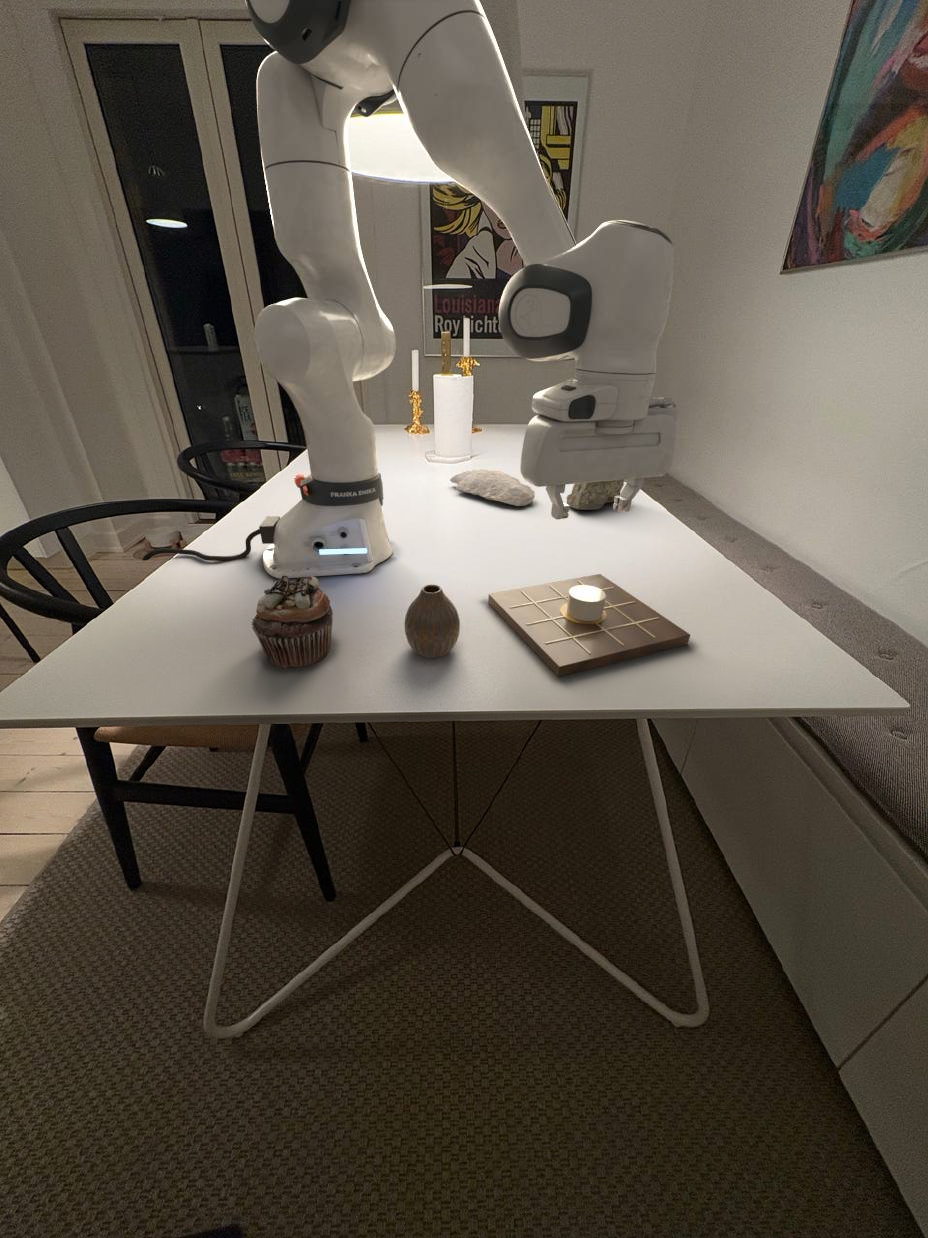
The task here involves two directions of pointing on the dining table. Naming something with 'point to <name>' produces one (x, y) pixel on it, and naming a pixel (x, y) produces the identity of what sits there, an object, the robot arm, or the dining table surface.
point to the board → (585, 625)
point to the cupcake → (294, 622)
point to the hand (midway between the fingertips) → (590, 514)
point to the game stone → (585, 603)
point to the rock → (594, 494)
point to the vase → (432, 623)
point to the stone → (494, 486)
